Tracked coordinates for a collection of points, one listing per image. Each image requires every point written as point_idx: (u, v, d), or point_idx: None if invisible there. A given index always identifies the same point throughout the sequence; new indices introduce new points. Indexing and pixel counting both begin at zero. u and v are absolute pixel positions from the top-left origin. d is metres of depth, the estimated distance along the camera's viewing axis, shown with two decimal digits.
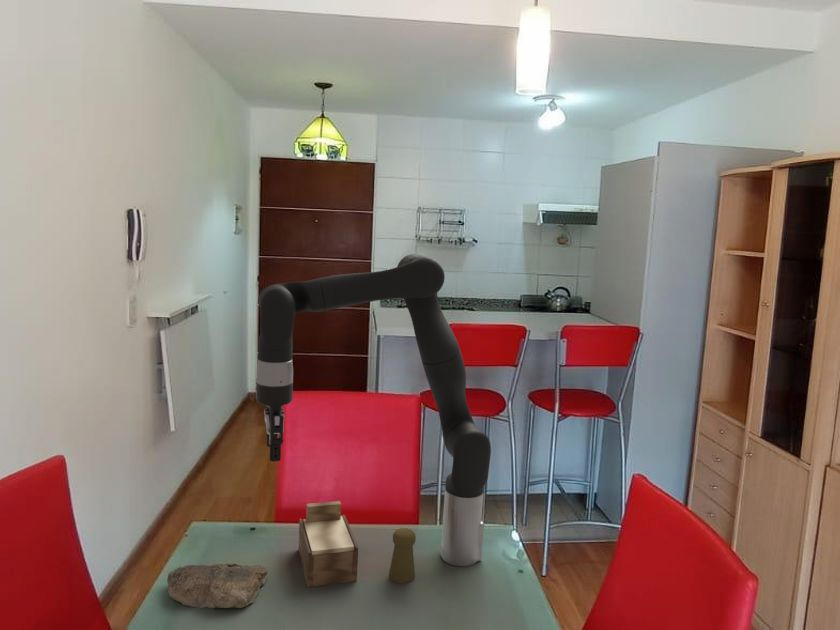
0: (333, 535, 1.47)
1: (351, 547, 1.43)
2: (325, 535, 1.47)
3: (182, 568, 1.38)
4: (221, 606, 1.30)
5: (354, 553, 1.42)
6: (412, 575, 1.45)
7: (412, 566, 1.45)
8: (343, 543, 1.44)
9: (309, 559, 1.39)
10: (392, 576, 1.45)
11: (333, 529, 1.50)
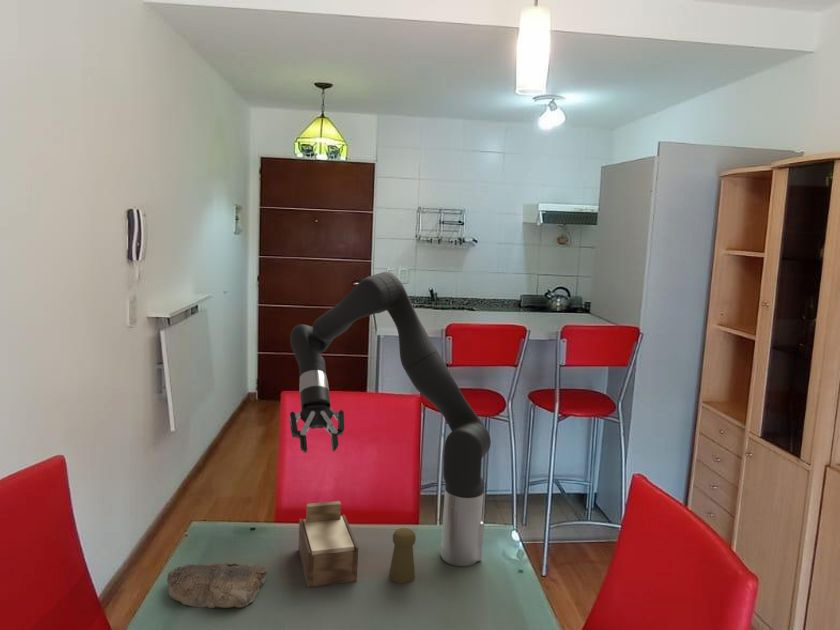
0: (333, 535, 1.47)
1: (351, 547, 1.43)
2: (325, 535, 1.47)
3: (182, 568, 1.38)
4: (221, 606, 1.30)
5: (354, 553, 1.42)
6: (412, 575, 1.45)
7: (412, 566, 1.45)
8: (343, 543, 1.44)
9: (309, 559, 1.39)
10: (392, 576, 1.45)
11: (333, 529, 1.50)
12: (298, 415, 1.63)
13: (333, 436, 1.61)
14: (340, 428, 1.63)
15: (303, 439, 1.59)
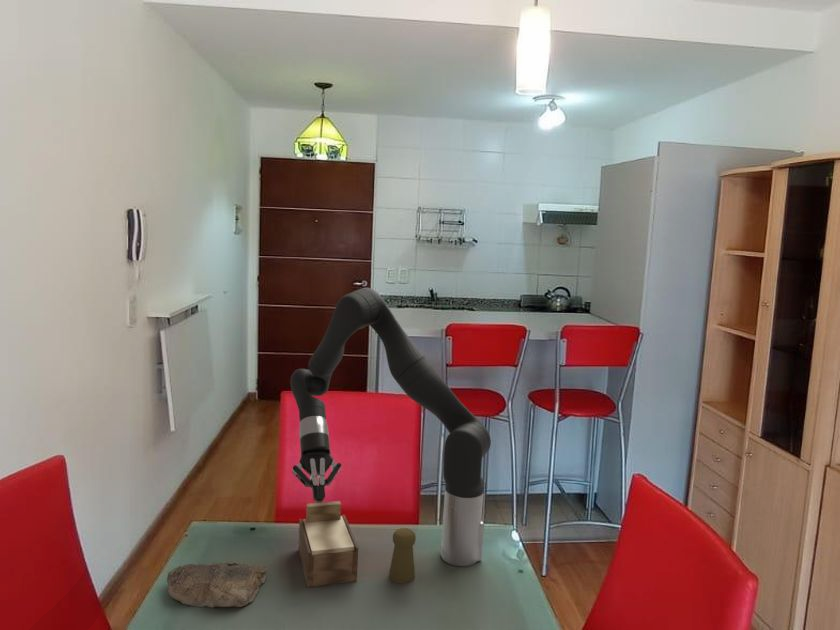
0: (333, 535, 1.47)
1: (351, 547, 1.43)
2: (325, 535, 1.47)
3: (182, 568, 1.38)
4: (221, 605, 1.31)
5: (354, 553, 1.42)
6: (412, 575, 1.45)
7: (412, 566, 1.45)
8: (343, 543, 1.44)
9: (309, 559, 1.39)
10: (392, 576, 1.45)
11: (333, 529, 1.50)
12: (300, 465, 1.63)
13: (320, 487, 1.60)
14: (328, 478, 1.62)
15: (316, 489, 1.60)
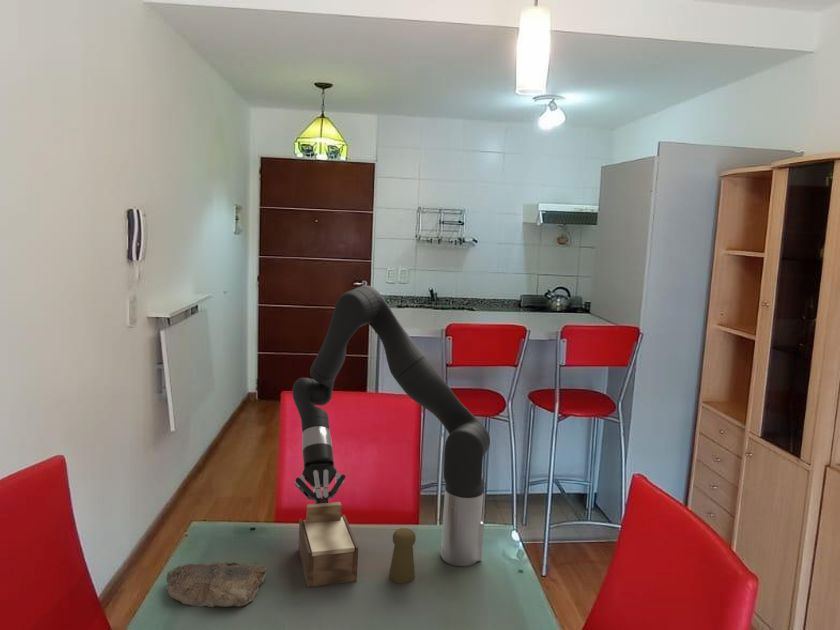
0: (333, 536, 1.47)
1: (351, 548, 1.42)
2: (325, 535, 1.47)
3: (181, 568, 1.38)
4: (221, 605, 1.31)
5: (354, 553, 1.42)
6: (412, 575, 1.45)
7: (412, 566, 1.45)
8: (343, 544, 1.43)
9: (309, 559, 1.39)
10: (392, 576, 1.45)
11: (333, 530, 1.49)
12: (303, 477, 1.59)
13: (323, 500, 1.56)
14: (331, 490, 1.58)
15: (319, 502, 1.56)
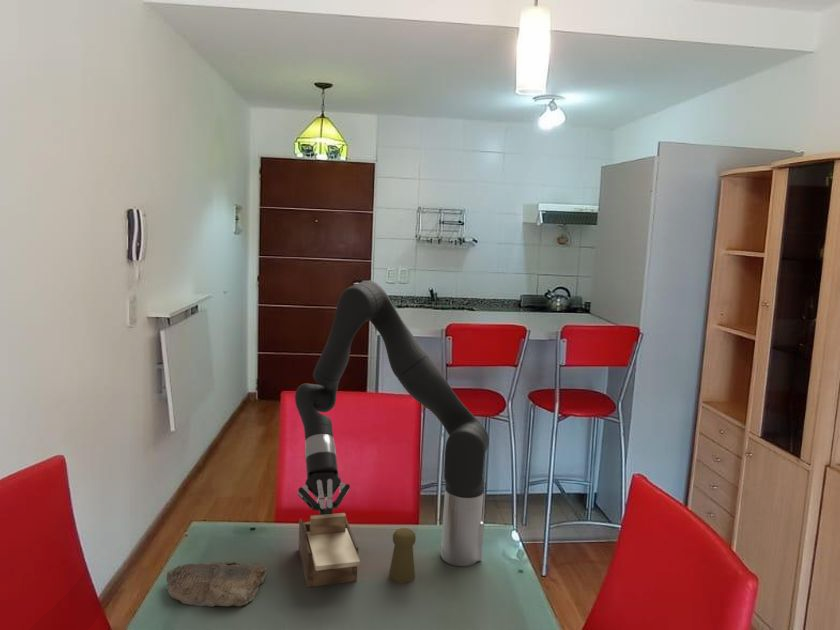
0: (338, 549, 1.41)
1: (357, 562, 1.37)
2: (330, 548, 1.41)
3: (181, 567, 1.38)
4: (221, 604, 1.31)
5: None
6: (412, 575, 1.45)
7: (412, 566, 1.45)
8: (348, 558, 1.38)
9: (309, 559, 1.39)
10: (392, 576, 1.45)
11: (338, 542, 1.44)
12: (306, 487, 1.53)
13: (327, 511, 1.51)
14: (335, 501, 1.53)
15: (323, 513, 1.50)
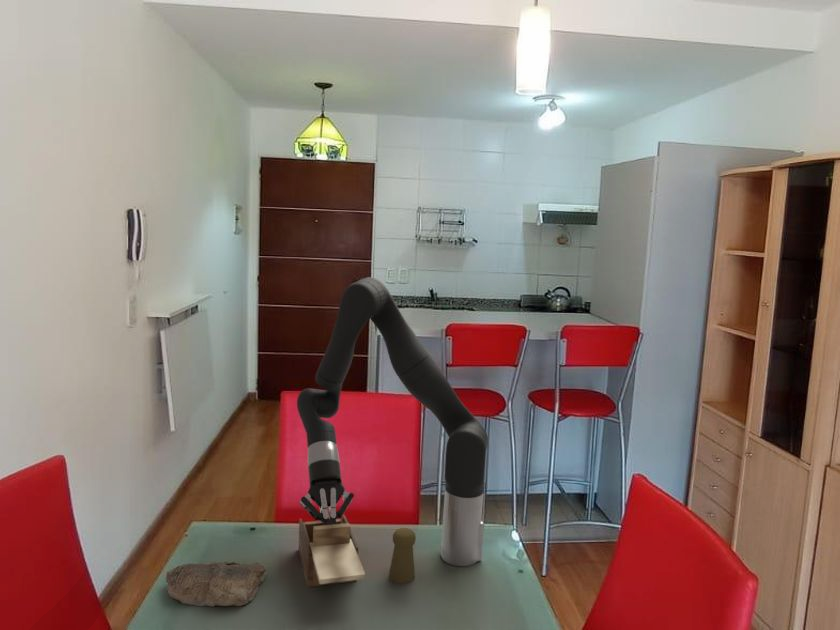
0: (342, 561, 1.37)
1: (362, 575, 1.32)
2: (334, 560, 1.37)
3: (181, 567, 1.38)
4: (221, 604, 1.31)
5: None
6: (412, 575, 1.45)
7: (412, 566, 1.45)
8: (353, 570, 1.33)
9: (309, 559, 1.39)
10: (392, 576, 1.45)
11: (342, 554, 1.39)
12: (309, 496, 1.49)
13: (331, 521, 1.46)
14: (339, 510, 1.48)
15: (326, 523, 1.46)
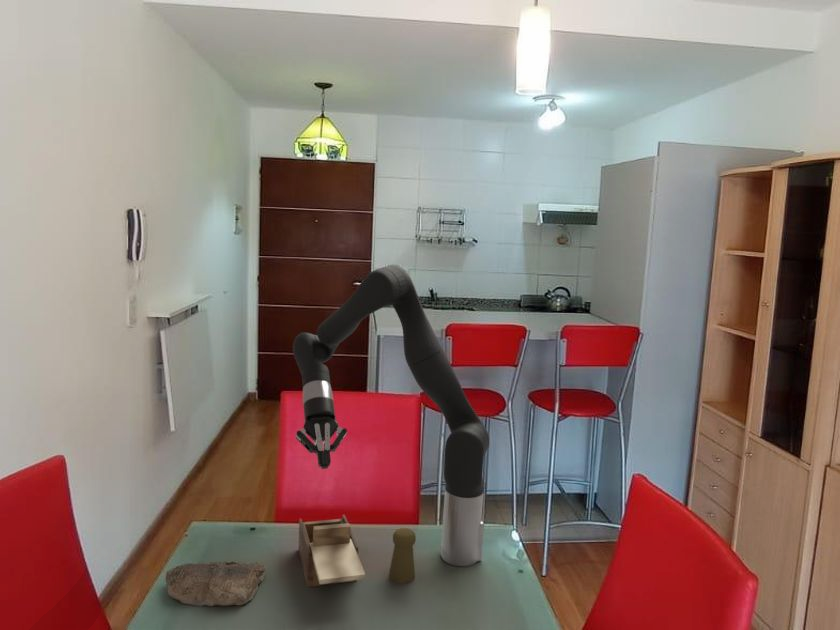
0: (342, 561, 1.37)
1: (362, 575, 1.32)
2: (334, 561, 1.37)
3: (180, 567, 1.38)
4: (221, 604, 1.31)
5: None
6: (412, 575, 1.45)
7: (412, 566, 1.45)
8: (353, 570, 1.33)
9: (309, 559, 1.39)
10: (392, 576, 1.45)
11: (342, 554, 1.39)
12: (304, 431, 1.56)
13: (325, 453, 1.54)
14: (333, 444, 1.55)
15: (321, 455, 1.53)
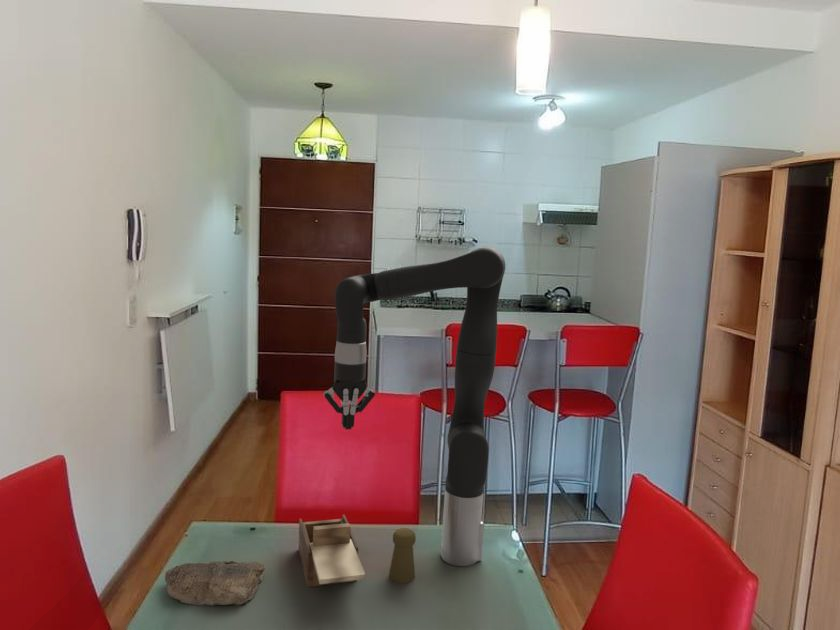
0: (342, 561, 1.37)
1: (362, 575, 1.32)
2: (334, 561, 1.37)
3: (180, 567, 1.39)
4: (221, 603, 1.31)
5: None
6: (412, 575, 1.45)
7: (412, 566, 1.45)
8: (353, 570, 1.33)
9: (309, 559, 1.39)
10: (392, 576, 1.45)
11: (342, 554, 1.39)
12: (332, 391, 1.54)
13: (350, 417, 1.56)
14: (359, 408, 1.56)
15: (345, 418, 1.56)
